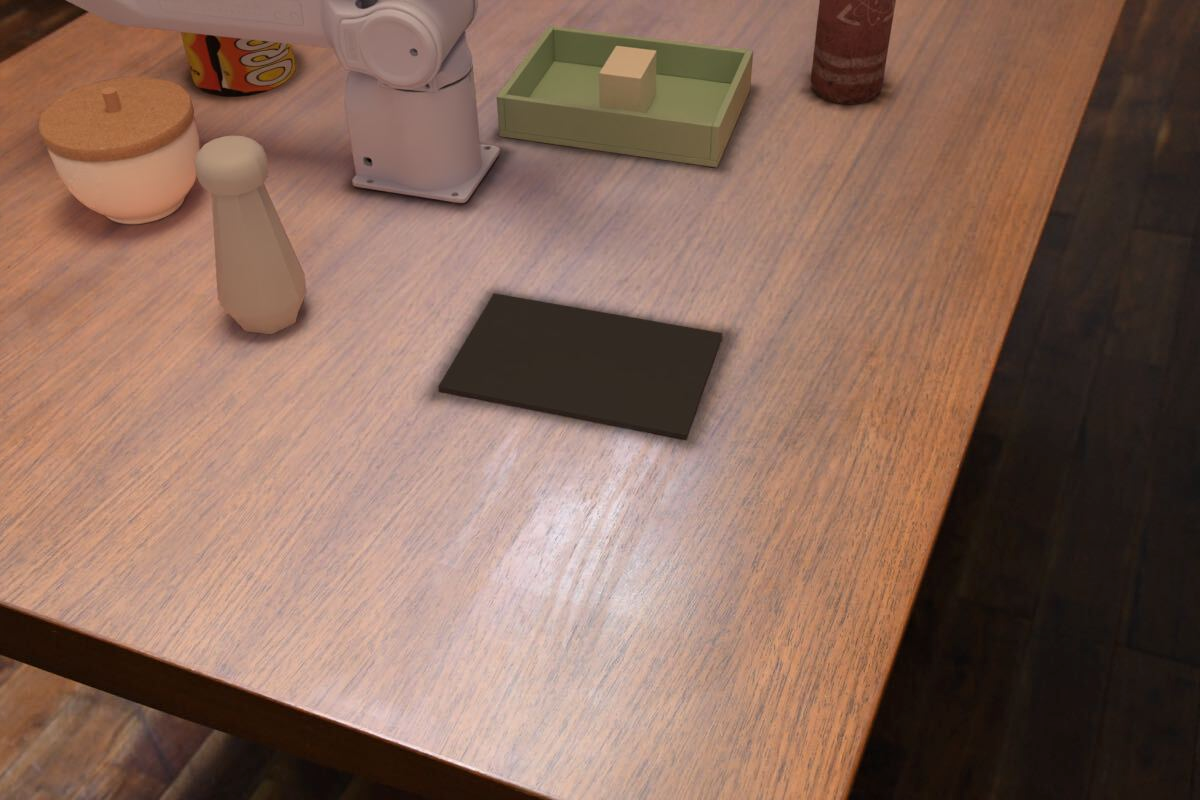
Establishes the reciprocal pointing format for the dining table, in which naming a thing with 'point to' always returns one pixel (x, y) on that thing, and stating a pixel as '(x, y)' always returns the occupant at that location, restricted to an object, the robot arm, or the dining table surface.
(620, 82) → the tan wooden block
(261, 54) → the beverage can
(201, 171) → the salt shaker
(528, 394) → the mat
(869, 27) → the can
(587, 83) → the bin
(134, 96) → the trinket box
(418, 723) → the dining table surface
